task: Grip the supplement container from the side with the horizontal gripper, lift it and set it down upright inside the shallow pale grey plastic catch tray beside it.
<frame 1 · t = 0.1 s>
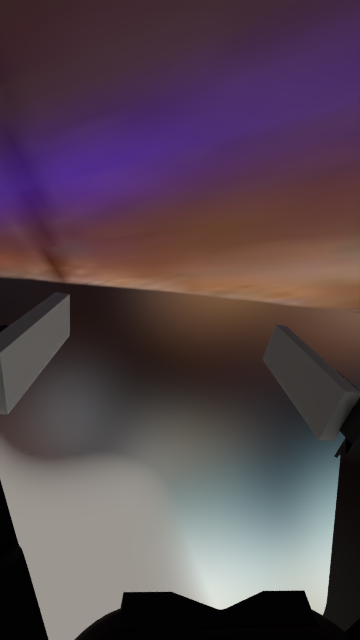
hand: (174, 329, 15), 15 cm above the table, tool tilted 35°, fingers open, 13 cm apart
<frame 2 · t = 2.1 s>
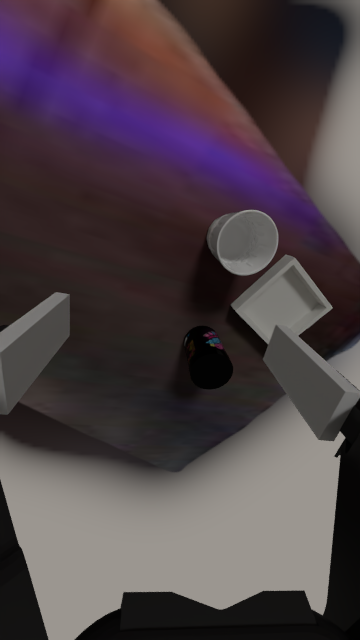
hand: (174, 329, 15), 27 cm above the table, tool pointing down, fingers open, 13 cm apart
supplement container: (200, 339, 47), on the table
white cup: (226, 237, 39), on the table
catch tray: (277, 303, 45), on the table
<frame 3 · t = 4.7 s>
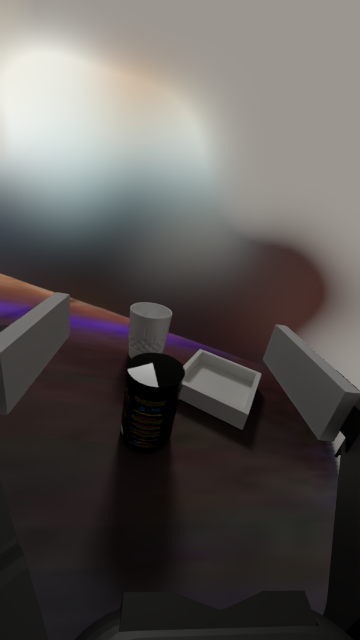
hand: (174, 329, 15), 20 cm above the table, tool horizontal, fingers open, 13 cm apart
supplement container: (145, 434, 32), on the table
white cup: (144, 355, 49), on the table
catch tray: (215, 389, 43), on the table
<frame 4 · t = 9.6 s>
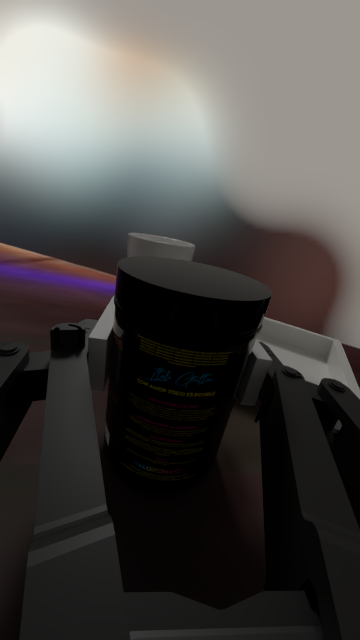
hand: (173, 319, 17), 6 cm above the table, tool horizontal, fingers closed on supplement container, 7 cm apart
supplement container: (160, 443, 15), on the table, touching gripper
white cup: (150, 318, 32), on the table
catch tray: (270, 365, 26), on the table
when the fingers open (8 cm above the table, at t = 15.0 s): supplement container drops 1 cm, resting on catch tray.
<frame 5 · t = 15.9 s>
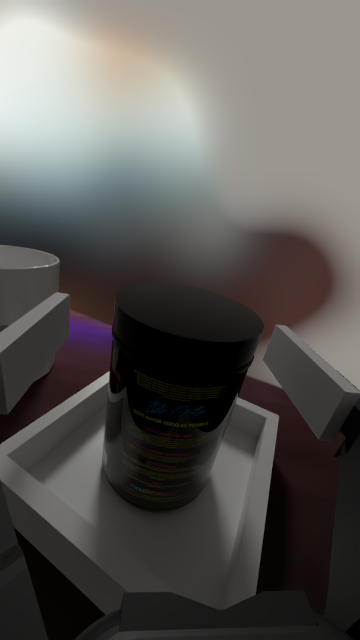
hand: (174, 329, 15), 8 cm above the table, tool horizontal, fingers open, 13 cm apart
supplement container: (156, 460, 15), point 1 cm above the table, touching catch tray
white cup: (12, 368, 22), on the table
catch tray: (155, 466, 15), on the table
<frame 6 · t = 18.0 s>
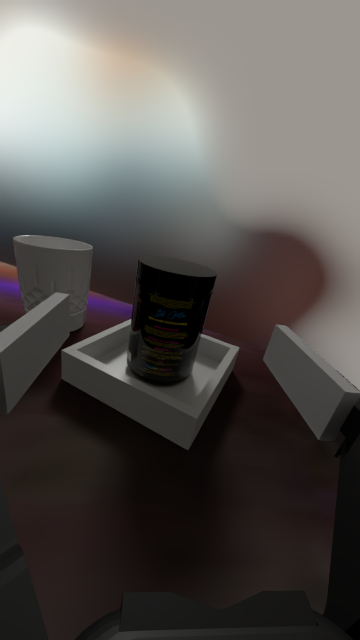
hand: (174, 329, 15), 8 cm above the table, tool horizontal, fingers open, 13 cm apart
supplement container: (158, 369, 24), point 1 cm above the table, touching catch tray
white cup: (57, 323, 31), on the table
catch tray: (158, 373, 25), on the table
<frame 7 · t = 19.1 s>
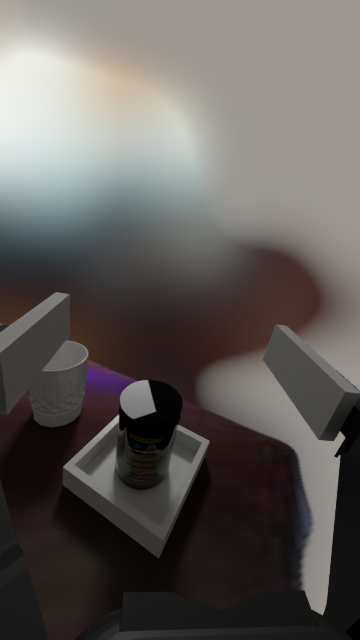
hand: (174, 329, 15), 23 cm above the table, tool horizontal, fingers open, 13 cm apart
supplement container: (142, 466, 30), point 1 cm above the table, touching catch tray
white cup: (58, 411, 37), on the table
catch tray: (141, 469, 30), on the table
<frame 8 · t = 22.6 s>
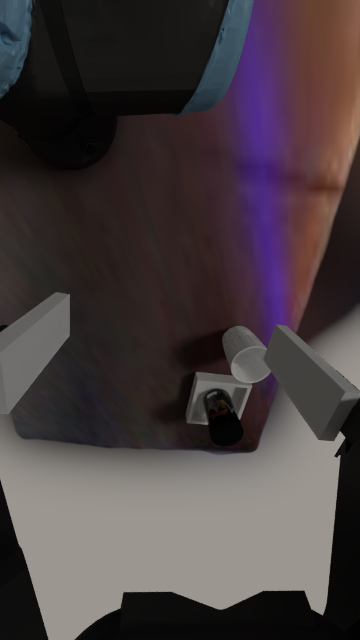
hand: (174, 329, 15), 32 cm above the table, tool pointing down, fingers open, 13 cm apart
supplement container: (216, 397, 58), point 1 cm above the table, touching catch tray
white cup: (236, 338, 53), on the table
catch tray: (215, 395, 58), on the table
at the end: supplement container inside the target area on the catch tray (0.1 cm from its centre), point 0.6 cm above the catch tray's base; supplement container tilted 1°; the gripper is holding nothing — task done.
